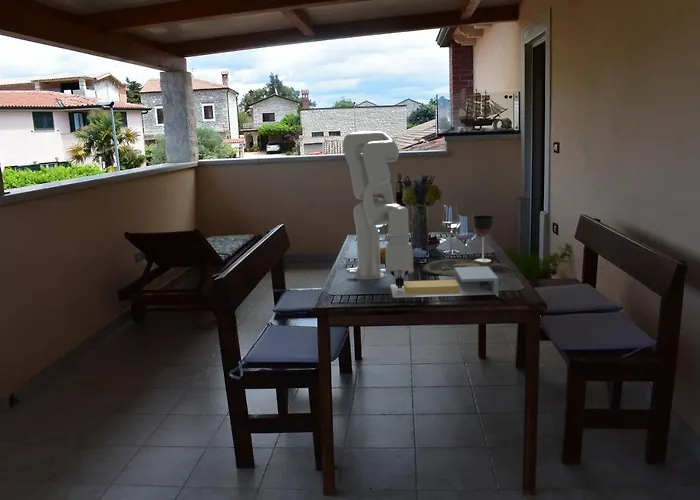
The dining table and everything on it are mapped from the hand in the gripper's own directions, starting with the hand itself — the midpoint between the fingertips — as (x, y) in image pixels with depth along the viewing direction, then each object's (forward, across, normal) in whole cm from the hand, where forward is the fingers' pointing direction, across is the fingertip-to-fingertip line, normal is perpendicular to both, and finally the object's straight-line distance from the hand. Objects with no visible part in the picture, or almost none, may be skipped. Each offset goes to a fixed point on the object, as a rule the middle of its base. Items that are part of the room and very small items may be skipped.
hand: (399, 287), depth 229 cm
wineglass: (+2, +40, +50) cm, 64 cm away
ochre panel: (+1, +12, 0) cm, 12 cm away
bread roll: (+2, -4, +56) cm, 57 cm away
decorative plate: (+3, +26, +33) cm, 43 cm away
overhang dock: (+2, +16, 0) cm, 16 cm away
